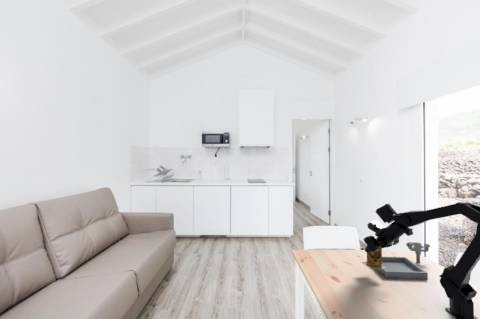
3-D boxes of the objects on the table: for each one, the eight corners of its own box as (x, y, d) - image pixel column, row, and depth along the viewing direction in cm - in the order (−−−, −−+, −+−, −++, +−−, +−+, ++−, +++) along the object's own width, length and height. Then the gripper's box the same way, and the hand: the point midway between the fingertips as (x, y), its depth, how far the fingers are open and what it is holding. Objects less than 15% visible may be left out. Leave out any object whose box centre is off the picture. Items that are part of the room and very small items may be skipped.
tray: (427, 279, 111) (427, 272, 111) (385, 278, 113) (385, 271, 113) (405, 262, 129) (405, 257, 129) (369, 261, 130) (369, 256, 130)
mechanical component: (430, 264, 126) (430, 244, 126) (408, 262, 128) (408, 243, 128) (427, 261, 129) (427, 242, 129) (406, 260, 131) (405, 241, 131)
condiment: (373, 269, 109) (373, 242, 109) (359, 262, 117) (359, 237, 117) (387, 268, 110) (386, 241, 111) (372, 260, 119) (372, 236, 119)
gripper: (391, 213, 115) (369, 231, 124) (367, 218, 106) (345, 238, 115) (410, 234, 108) (385, 252, 117) (386, 242, 99) (361, 260, 108)
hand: (369, 249), depth 115 cm, fingers closed on condiment, 6 cm apart
